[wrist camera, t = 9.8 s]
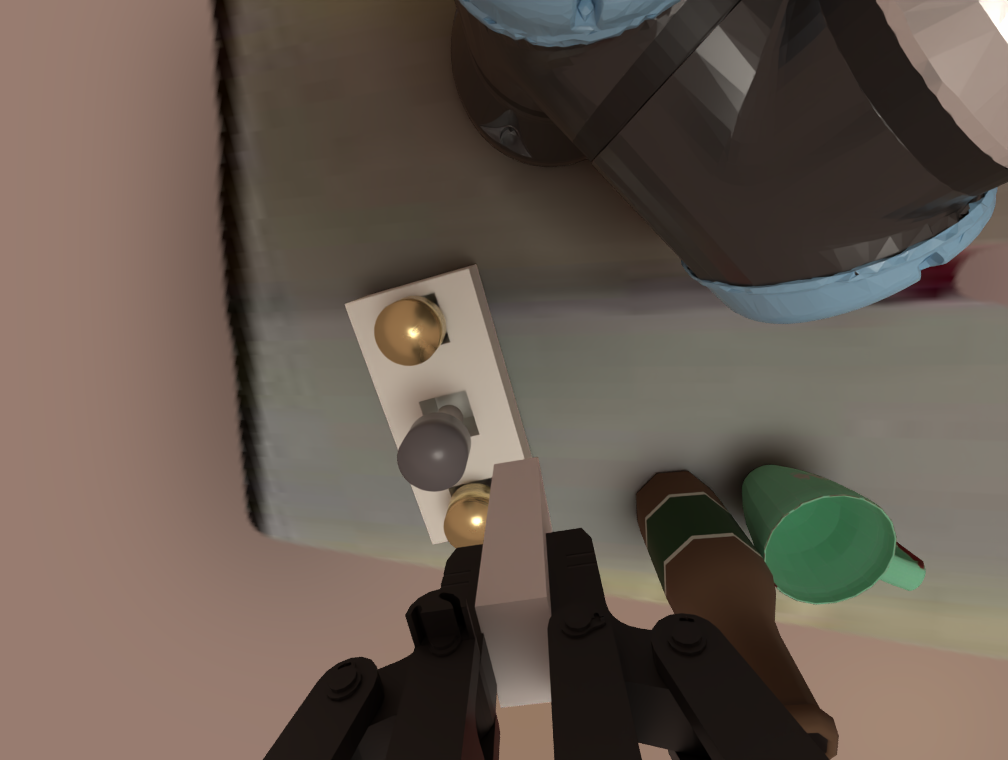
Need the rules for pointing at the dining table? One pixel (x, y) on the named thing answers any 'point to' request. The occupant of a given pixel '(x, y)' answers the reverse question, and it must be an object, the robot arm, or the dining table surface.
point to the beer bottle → (724, 587)
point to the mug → (823, 537)
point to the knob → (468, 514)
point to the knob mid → (435, 450)
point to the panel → (447, 380)
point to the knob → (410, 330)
